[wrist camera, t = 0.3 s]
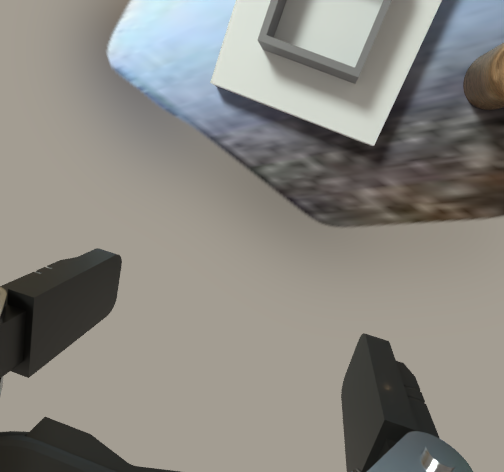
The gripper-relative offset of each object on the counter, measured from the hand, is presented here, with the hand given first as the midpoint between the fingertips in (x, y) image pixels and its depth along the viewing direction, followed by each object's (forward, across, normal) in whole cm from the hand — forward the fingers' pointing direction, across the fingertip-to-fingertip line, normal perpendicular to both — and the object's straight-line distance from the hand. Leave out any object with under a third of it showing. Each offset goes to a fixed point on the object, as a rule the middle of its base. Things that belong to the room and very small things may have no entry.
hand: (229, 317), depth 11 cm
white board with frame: (+28, +2, -17) cm, 33 cm away
